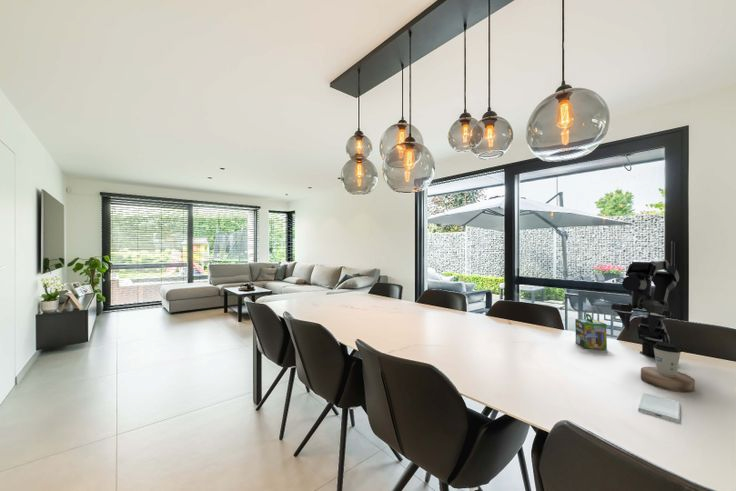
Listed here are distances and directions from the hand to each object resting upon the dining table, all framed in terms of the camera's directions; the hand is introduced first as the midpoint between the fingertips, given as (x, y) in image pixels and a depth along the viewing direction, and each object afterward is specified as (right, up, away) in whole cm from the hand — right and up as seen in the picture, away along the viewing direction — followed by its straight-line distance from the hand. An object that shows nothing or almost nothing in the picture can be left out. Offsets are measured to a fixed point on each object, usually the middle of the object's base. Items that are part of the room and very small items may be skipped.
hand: (639, 331), depth 122 cm
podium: (-7, -12, -18) cm, 23 cm away
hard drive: (-25, -13, -34) cm, 44 cm away
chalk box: (-5, -13, +20) cm, 24 cm away
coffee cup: (-7, -10, -18) cm, 22 cm away
